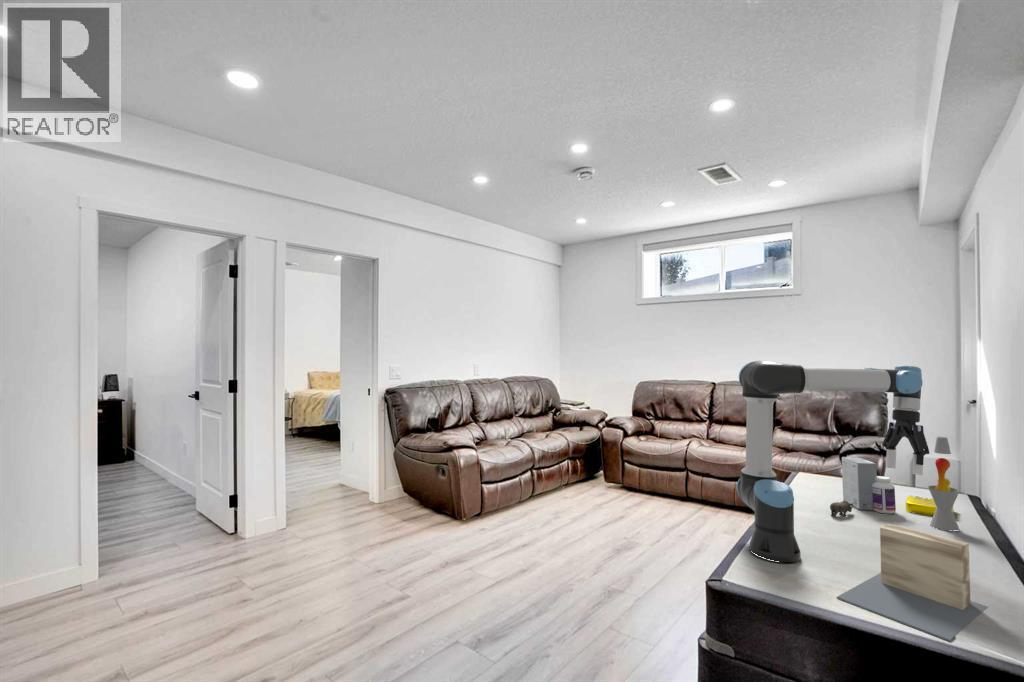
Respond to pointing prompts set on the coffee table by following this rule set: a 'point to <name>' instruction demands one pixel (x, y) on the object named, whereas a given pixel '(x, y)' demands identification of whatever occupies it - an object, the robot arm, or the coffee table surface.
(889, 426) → the robot arm
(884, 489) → the pill bottle
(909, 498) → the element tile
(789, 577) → the coffee table surface
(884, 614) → the slate mat
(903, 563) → the birch slab
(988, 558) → the coffee table surface
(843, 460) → the hard drive box
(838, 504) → the bison figurine
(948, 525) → the lava lamp
